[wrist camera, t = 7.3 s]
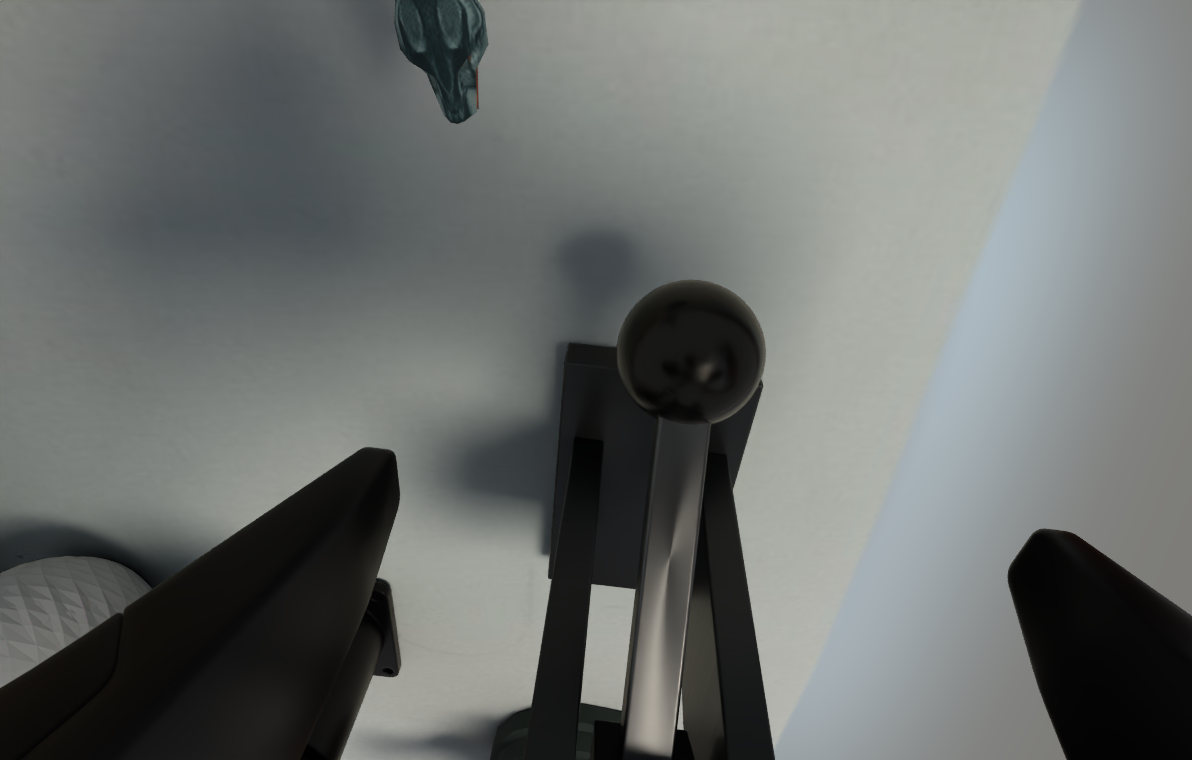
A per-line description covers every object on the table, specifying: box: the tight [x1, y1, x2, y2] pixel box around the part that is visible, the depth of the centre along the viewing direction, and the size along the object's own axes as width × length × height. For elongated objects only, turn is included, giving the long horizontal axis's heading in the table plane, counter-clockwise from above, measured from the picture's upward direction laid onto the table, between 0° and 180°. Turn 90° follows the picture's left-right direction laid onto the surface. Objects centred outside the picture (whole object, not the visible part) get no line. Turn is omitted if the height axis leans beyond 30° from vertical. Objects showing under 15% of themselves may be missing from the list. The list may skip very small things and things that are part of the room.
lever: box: [590, 280, 766, 760], centre depth 14 cm, size 13×3×3 cm
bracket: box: [523, 343, 775, 760], centre depth 17 cm, size 10×6×13 cm, turn 175°
